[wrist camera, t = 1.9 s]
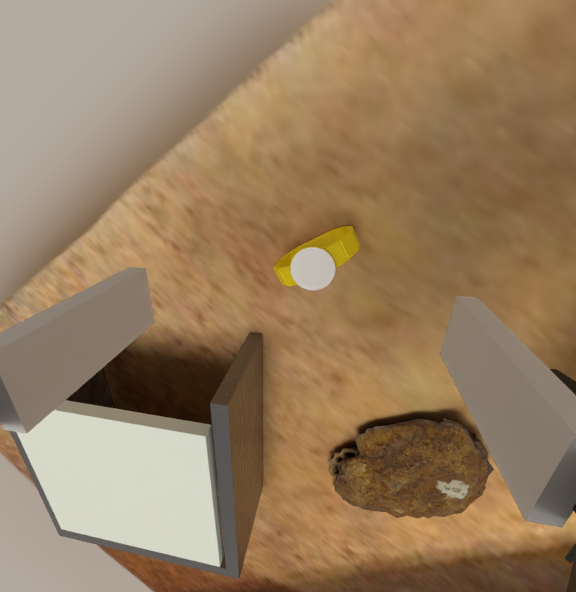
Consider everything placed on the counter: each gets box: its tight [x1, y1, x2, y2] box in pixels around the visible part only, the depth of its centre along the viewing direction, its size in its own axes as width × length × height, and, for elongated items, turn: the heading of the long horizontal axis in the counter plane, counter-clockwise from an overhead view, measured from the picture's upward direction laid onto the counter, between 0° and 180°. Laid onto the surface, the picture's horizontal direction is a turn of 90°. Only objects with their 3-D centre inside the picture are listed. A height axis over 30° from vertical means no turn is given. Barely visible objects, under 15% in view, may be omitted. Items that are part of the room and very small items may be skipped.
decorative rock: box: [328, 417, 494, 519], centre depth 29 cm, size 11×4×15 cm
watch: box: [273, 226, 360, 290], centre depth 21 cm, size 6×3×6 cm, turn 119°
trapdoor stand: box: [10, 333, 263, 579], centre depth 29 cm, size 19×21×9 cm
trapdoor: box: [17, 400, 224, 567], centre depth 25 cm, size 16×16×1 cm
